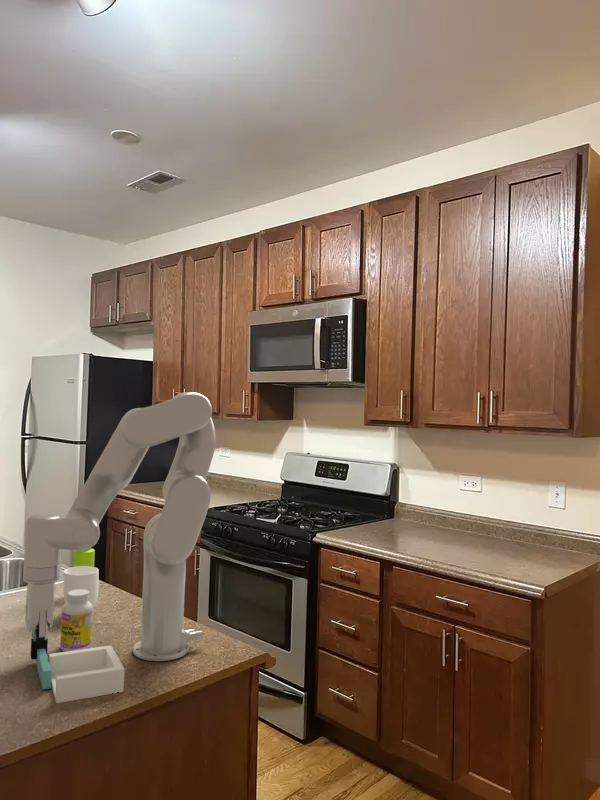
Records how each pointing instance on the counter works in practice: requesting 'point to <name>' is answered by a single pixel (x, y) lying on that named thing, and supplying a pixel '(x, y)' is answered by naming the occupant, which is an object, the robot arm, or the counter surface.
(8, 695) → the counter surface
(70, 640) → the supplement bottle
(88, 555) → the soap dispenser
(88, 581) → the mug
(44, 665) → the gate
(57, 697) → the housing
